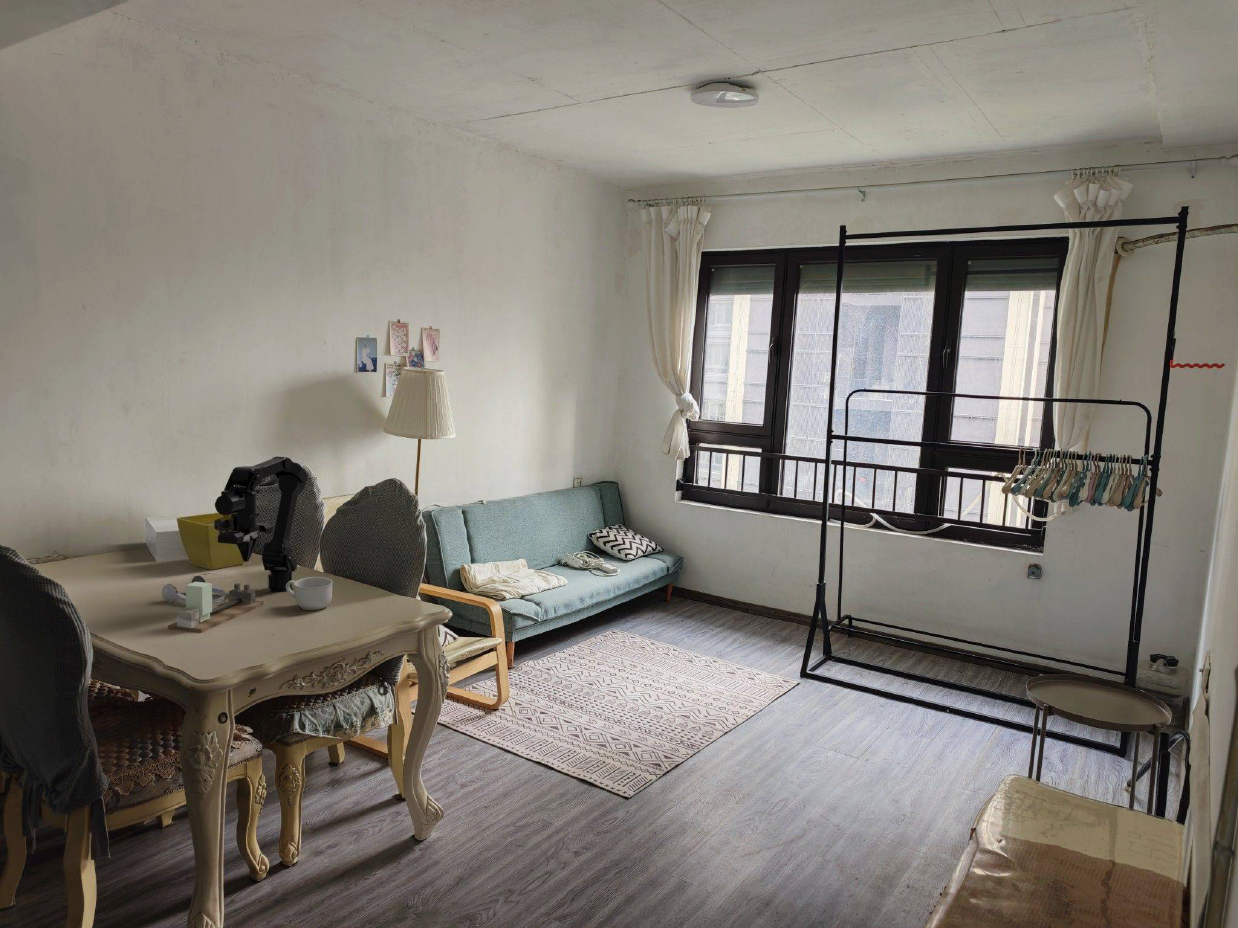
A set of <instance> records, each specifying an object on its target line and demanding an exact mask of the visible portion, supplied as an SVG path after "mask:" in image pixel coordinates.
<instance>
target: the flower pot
mask: <svg viewBox="0 0 1238 928" xmlns="http://www.w3.org/2000/svg"><path fill="white" fill-rule="evenodd" d="M232 514H233V513H232ZM232 514H228V515H221V514H219V513H218V512H213V513H212V512H211V513H203V514H196V515H186V516H178V518H177V524H178V528H179V532H180V536H181V539H182V542H183V545H184V548H185V551H186V553H187V556H188V558H189V559H188V560H189V562H190V564H191V565H193V566H196V567H199V568H203V569H206V570H216V569H223V568H228V567H233V566H240V565H244V563H245V562H244V561H243V558H242V556H241V553H240V550H239V548H238V546H237V545H236V544H227V543H218V542H217V536H218V535H219V534H220V533H219V530H216V529H215V528H214V522H215V520H217V519H220V518H223V519H224V520H228V519H231V515H232ZM229 531H230V530H229ZM223 532H226V531H223ZM234 532H236V531H234Z"/></svg>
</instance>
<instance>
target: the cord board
mask: <svg viewBox="0 0 1238 928" xmlns="http://www.w3.org/2000/svg"><path fill="white" fill-rule="evenodd" d="M228 592H229V593H228V596H229V597H228V599H229V600H226V601H224V602H223V601H222V602H220V603H219V604H218V603H217V604H216V605H214V606H212V612H210V619H207V620H205V621H203V622H199V609H193V608H186V607H183V608H180V609H178V610H176V621H175V622H173V623H170V624H168V625H167V629H168V630H174V631H180V632H181V631H183V632H192V633H199V634H200V633H204V632H206V631H208V630H210V629H213V628H215V627H218V626H219V625H222V624H223V623H226V622H229V621H230V619H231V620H232V619H235V618H237V617H239V616H241V615H244V614H246V613H248V612H250V610H251V611H253V610H255V609H257V608H260V607H261V606H264V601H263V600H256V592H255V590H251V584H249V583H248V584H243V589H241V583H238V582H236V583H234V584H233V589H230V590H229V591H228ZM256 607H257V608H256ZM243 613H244V614H243Z"/></svg>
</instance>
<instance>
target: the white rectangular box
mask: <svg viewBox="0 0 1238 928" xmlns="http://www.w3.org/2000/svg"><path fill="white" fill-rule="evenodd" d="M178 517H179V516H178V515H177V514H167V515H166V514H165V515H153V516H152V515H151V516H149V515H148V516H144V523H145V525H144V526H145V527H144V529H145V546H147V549H148V550H149V551H150V553H151V555H152V557H153V559H154V560H155V562H166V561H176V560H177V561H178V560H189V558H188V556H187V553H186V551H185V548H184V545H183V542H182V539H181V536H180V532H179V528H178V524H177V518H178Z"/></svg>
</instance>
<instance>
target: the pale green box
mask: <svg viewBox="0 0 1238 928" xmlns="http://www.w3.org/2000/svg"><path fill="white" fill-rule="evenodd" d="M212 586H213V584H212V582H211V583H210V582H206V583H204V582H193V583H188V584H185V596H186V603H185V608H193V609H199V622H203V621H205V620H207V619H210V612H212V607H213V604H212V600H213V592H212Z"/></svg>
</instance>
